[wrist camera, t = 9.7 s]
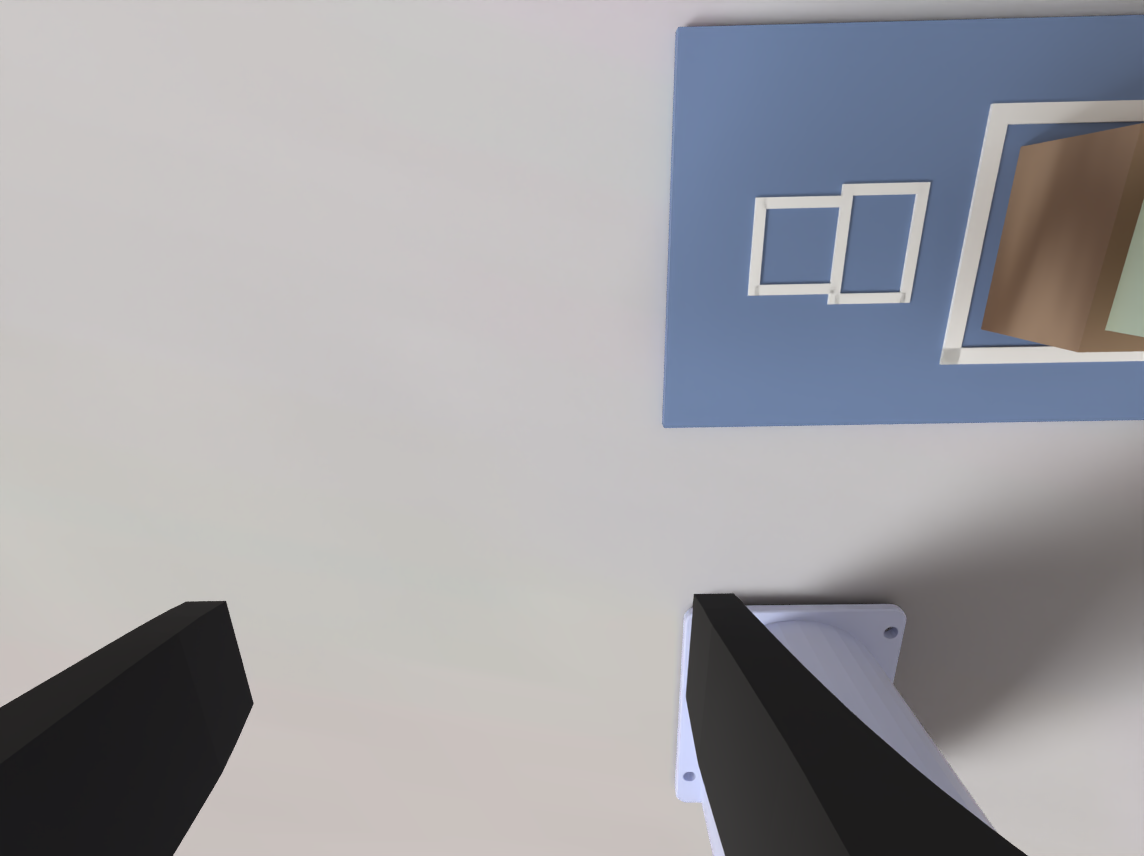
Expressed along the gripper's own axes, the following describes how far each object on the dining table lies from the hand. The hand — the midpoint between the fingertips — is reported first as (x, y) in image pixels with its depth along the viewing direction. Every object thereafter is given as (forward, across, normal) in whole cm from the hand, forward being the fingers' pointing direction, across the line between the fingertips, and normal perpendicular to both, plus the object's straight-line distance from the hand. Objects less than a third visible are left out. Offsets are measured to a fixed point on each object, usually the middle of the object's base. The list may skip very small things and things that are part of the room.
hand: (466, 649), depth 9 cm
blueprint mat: (+10, -13, -6) cm, 17 cm away
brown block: (+10, -17, -6) cm, 20 cm away
